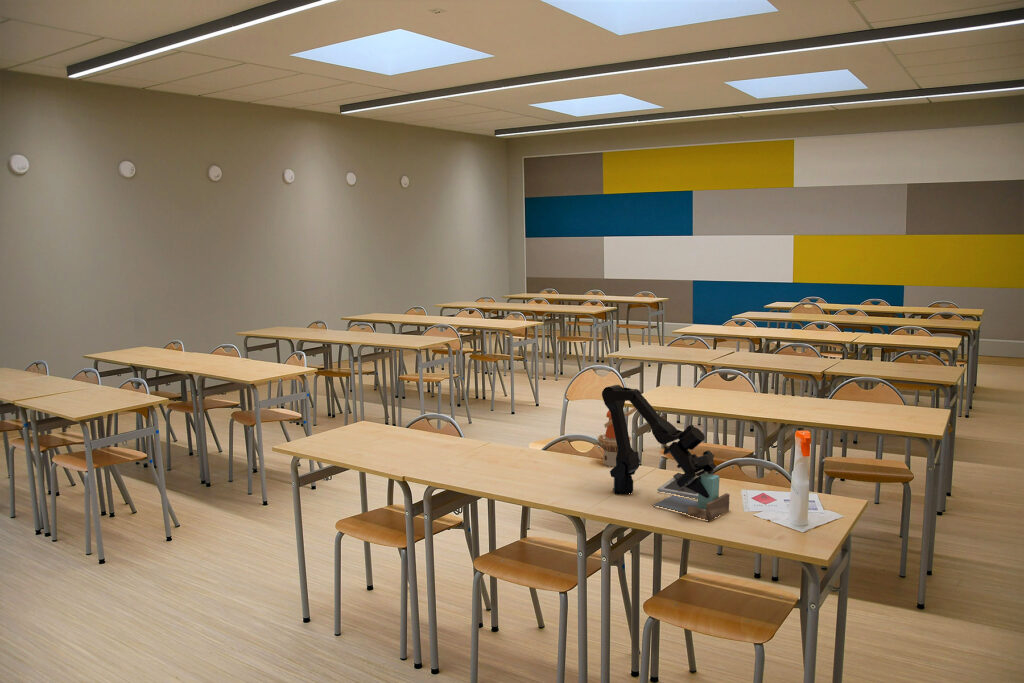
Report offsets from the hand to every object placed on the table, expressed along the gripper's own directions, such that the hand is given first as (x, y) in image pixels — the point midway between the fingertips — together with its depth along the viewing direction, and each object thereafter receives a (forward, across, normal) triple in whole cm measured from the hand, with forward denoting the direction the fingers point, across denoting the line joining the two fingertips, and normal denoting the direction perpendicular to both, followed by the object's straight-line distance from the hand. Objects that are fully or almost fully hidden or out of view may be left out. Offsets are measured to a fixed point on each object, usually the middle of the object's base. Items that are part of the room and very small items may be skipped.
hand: (712, 495), depth 260 cm
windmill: (-36, +27, +46) cm, 64 cm away
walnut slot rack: (+4, 0, +6) cm, 7 cm away
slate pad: (-4, 0, +13) cm, 14 cm away
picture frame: (-9, +20, +19) cm, 29 cm away
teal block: (+4, 0, +6) cm, 7 cm away
